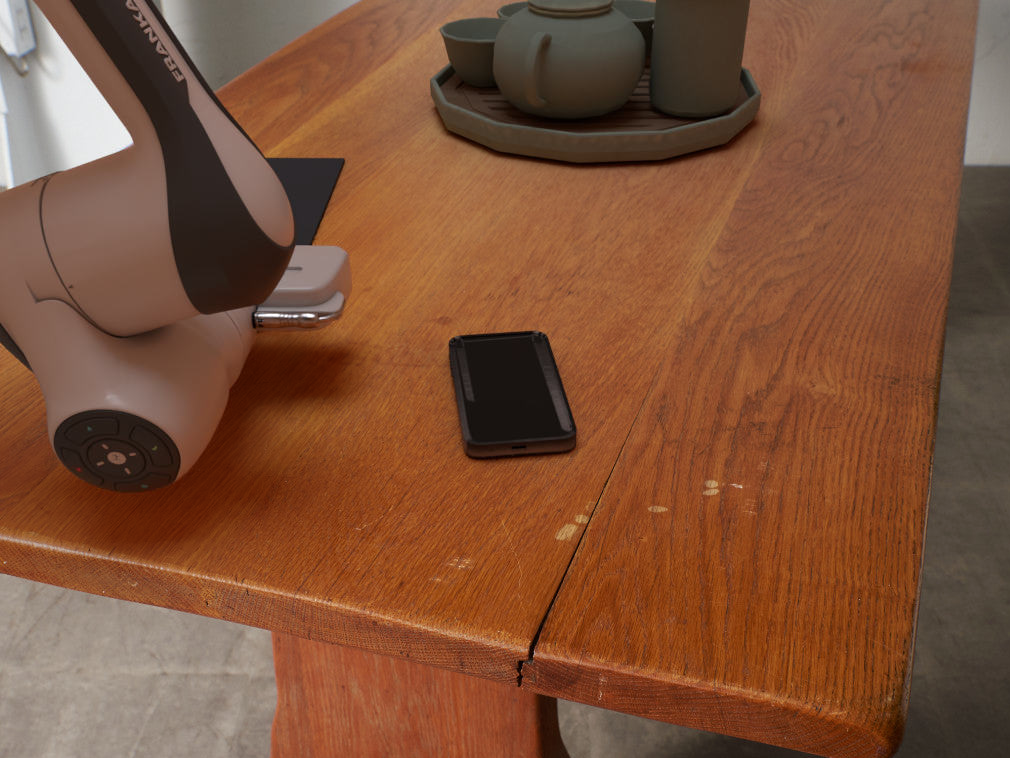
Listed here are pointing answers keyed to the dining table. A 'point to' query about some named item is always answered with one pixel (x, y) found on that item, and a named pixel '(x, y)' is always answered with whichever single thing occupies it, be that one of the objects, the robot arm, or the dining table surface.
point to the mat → (307, 189)
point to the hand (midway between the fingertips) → (235, 238)
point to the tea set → (599, 78)
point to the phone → (510, 395)
